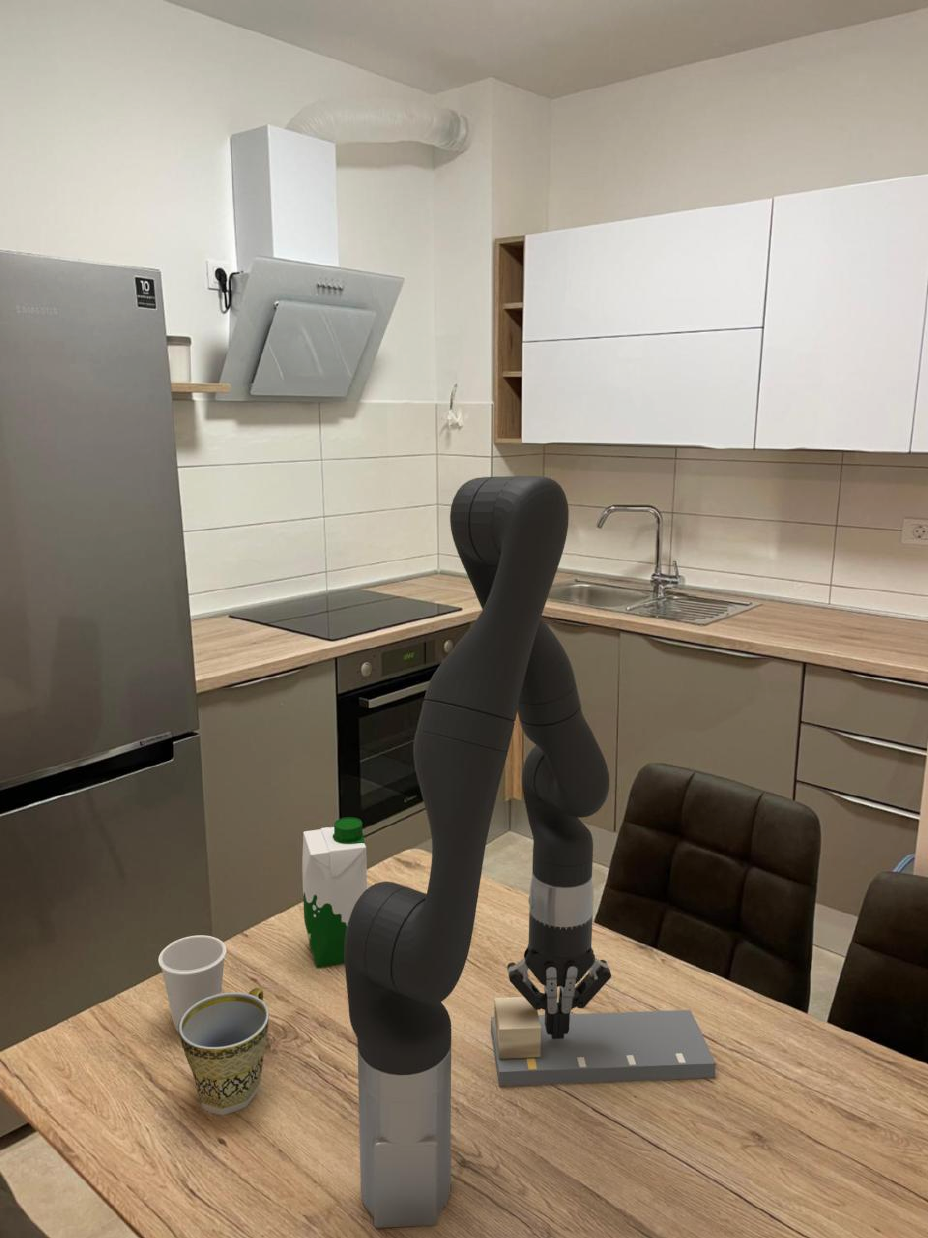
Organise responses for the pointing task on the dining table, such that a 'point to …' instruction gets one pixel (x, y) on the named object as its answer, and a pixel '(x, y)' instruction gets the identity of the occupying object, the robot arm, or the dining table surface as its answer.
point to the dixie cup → (192, 971)
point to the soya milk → (332, 885)
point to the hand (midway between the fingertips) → (556, 1034)
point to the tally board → (614, 1051)
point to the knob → (516, 1028)
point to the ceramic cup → (226, 1048)
